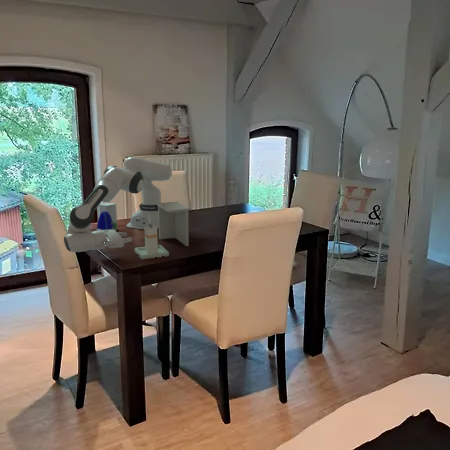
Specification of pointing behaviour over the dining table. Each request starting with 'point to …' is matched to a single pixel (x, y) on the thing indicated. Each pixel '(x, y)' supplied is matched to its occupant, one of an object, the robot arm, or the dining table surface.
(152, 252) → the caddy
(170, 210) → the bay
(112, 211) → the skincare box
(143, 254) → the tray
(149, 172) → the robot arm
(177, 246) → the dining table surface
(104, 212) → the ornament
